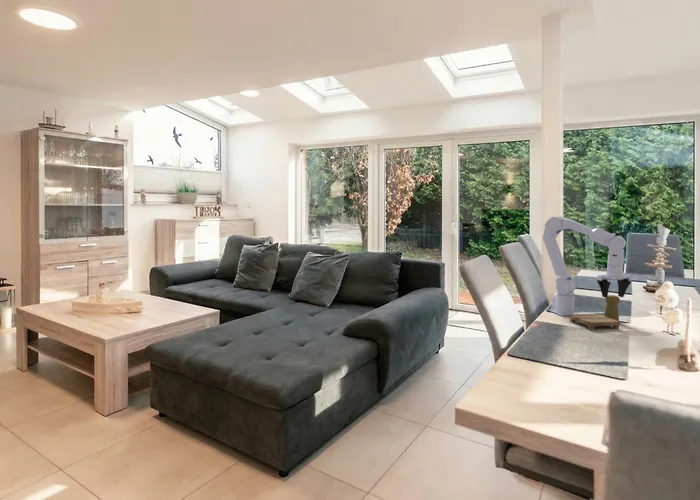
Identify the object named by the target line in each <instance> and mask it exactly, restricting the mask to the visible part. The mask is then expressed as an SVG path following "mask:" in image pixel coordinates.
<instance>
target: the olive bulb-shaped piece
mask: <svg viewBox="0 0 700 500" xmlns="http://www.w3.org/2000/svg"><path fill="white" fill-rule="evenodd" d="M620 298H621V297H619V296H618V295H612V294H610V295H609V294H608V296H607V298H605V303H606V304H605V305H606V306H605V310H604V314H603V316H605V317H608V318H611V319H614V320H617V321H620V315H619V314H620V313H619V312H620V311H619V303H621V302H620V300H621V299H620Z"/></svg>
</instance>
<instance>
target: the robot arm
mask: <svg viewBox="0 0 700 500" xmlns="http://www.w3.org/2000/svg"><path fill="white" fill-rule="evenodd" d="M564 230H573V231H575V232H578V233H581V234H583V235H586V236H588V237H589V239H590V240H591V241H593V242H595V243H597V244H599V245H602V246H604V247H607V248H608V254H607V263H606V264H607V267H606V274H602V275H601V274H600V275H599V274H598V275H597V277H596V279H597V280H596V281H597V284H598V287H599V288H600V291H601V292H600V293H601V297H602V298H605V299H606V298H607V296H608V295H609V289H610V285H611V283H612V282H610V281H617V282H616V283H617V290H618V291H617V296H618V297H619V298H624V296H625V293H626V291H627V289H628V287H629V286H630V285H631V283H632V275H631V274H624V273H623V271H624V263H625V262H624V261H625V260H624V258H625V247H626V245H627V242H626V239H625V238H624V237H623V236H621V235H616V233H611V232H609V231H606V230H605V228H602V227H600V228H599V227H596V228H591V227H588V226H587V225H584V224H582V223H580V222H578V221H576V220H574V219H570V218H567V217H564V216H561V215H560V216H559V215H558V216H551V217H549V218H547V221H546V222H545V223H544V229H543V234H542V241H543V243H544V246H545V249H546V251H547V254H548V257H549V261H550V262H551V265H552V267H553V268H552V269H553V271H554V273H555V279H554V281H555V283H556V285H555V290H556V292H554V294H552V297H551V309H549V311H550V312H551V313H554V314H556V315H559V316H561V317H563V316H565V317H566V316H567V317H568V316H569V315H570V314H577V313H575V311H574V310H575V297H576V296H575V293H574V291H575V290H576V288H577V282H576V281H575V280H574V278H572V276H571V274H570V273H569V271H568V269H567V266H566V262H565V260H564V257H563V256H562V252H561V250H560V246H559V244H558V242H557V237H558V236H559V234H560V233H561V232H563V231H564Z"/></svg>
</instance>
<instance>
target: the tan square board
mask: <svg viewBox="0 0 700 500" xmlns="http://www.w3.org/2000/svg"><path fill="white" fill-rule="evenodd" d="M569 322H570V323H573V324H575V323H576V322H578V323H581V324H583V325H586V326H587V330H589V331H594V330H595V327H609V326H611V327H612V329H614V330H619V329H620V326H621V321H620V320H619V321H617V320H614V319H611V318H608V317H605V316H604V314H603V315H602V314H600V313H581V314H580V313H576V314H570V315H569Z"/></svg>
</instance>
